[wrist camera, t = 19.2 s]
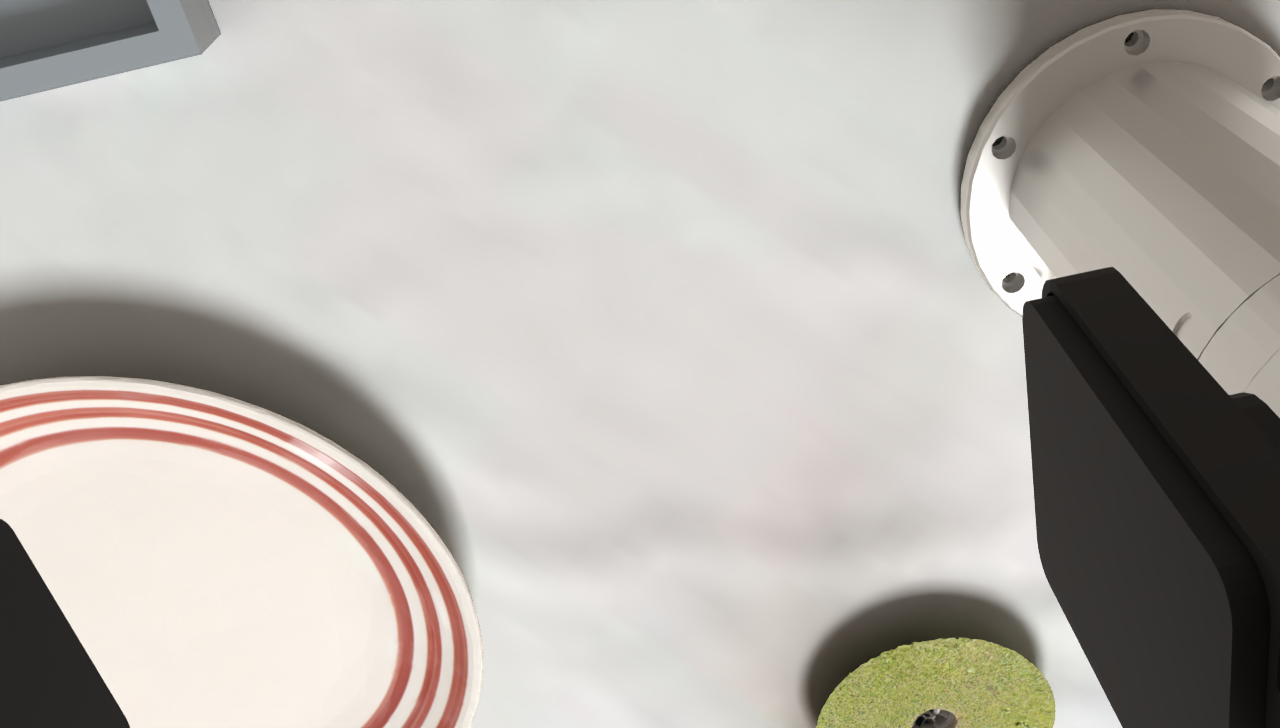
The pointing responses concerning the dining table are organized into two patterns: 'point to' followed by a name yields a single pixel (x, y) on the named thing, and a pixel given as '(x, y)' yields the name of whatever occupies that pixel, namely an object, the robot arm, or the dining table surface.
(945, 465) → the dining table surface
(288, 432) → the dinner plate
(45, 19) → the grey square tray
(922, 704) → the mat
